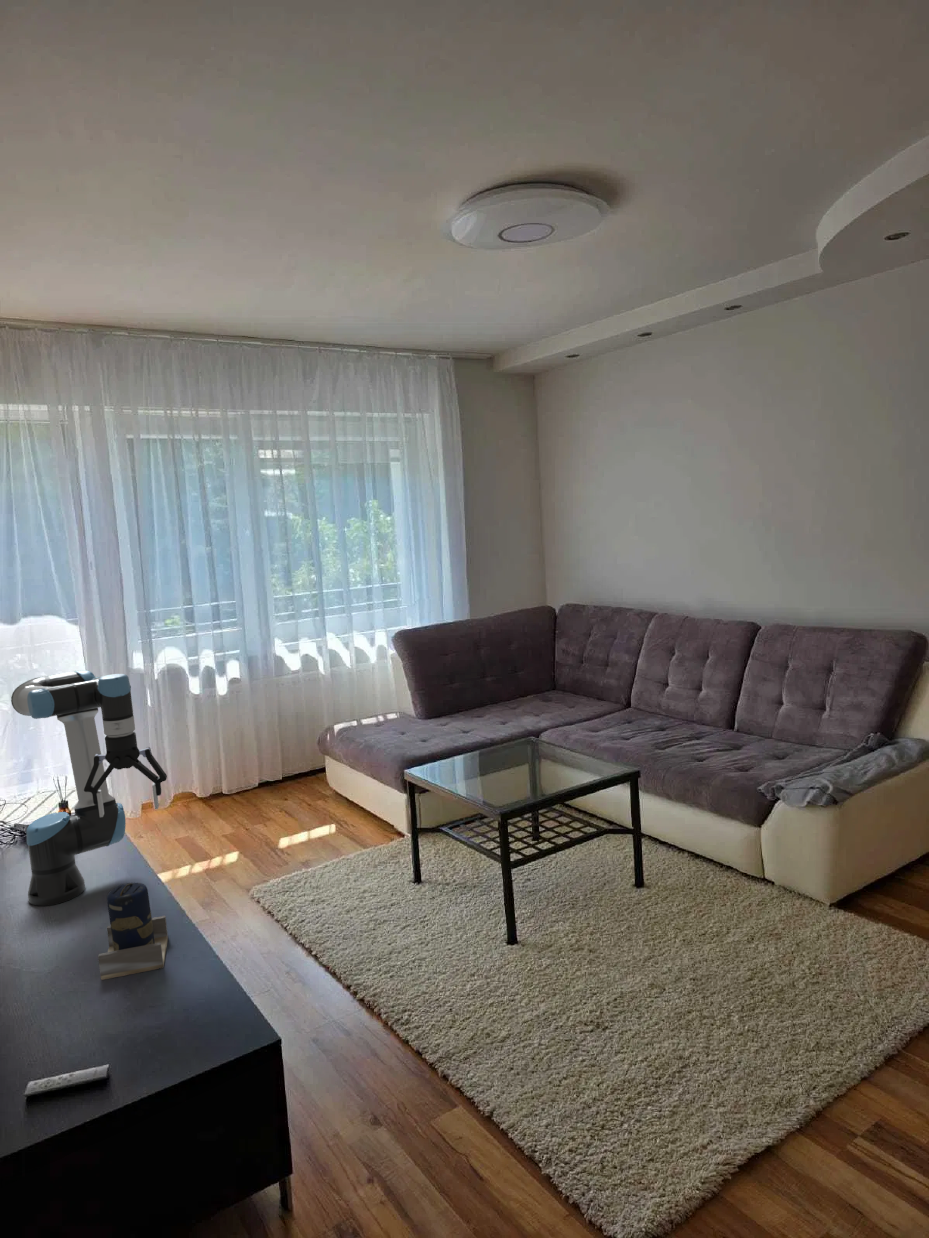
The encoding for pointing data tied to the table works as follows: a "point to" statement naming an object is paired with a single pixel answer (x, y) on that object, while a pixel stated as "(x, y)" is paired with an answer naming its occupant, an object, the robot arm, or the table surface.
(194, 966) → the table surface
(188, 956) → the table surface
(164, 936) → the keeper cradle
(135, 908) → the canister
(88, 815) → the robot arm
